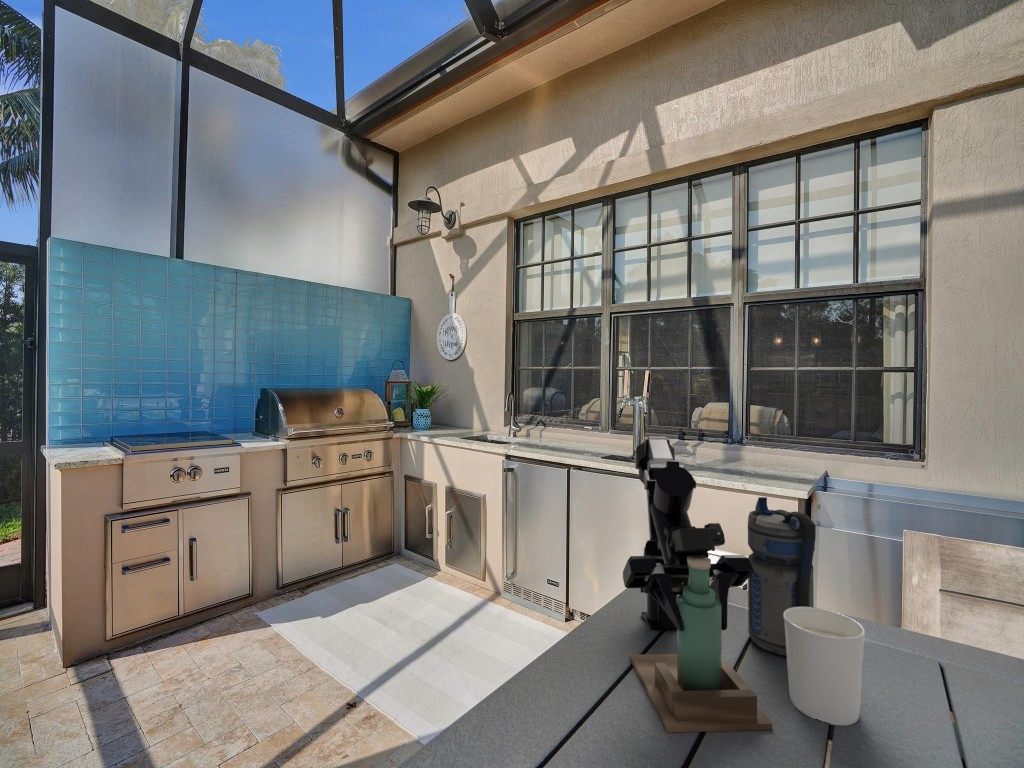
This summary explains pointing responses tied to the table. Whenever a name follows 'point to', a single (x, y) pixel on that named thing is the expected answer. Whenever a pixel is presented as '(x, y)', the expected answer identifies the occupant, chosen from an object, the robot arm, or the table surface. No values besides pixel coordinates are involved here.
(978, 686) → the table surface
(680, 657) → the oil bottle
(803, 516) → the beverage bottle
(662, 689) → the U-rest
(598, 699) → the table surface
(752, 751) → the table surface
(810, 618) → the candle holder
